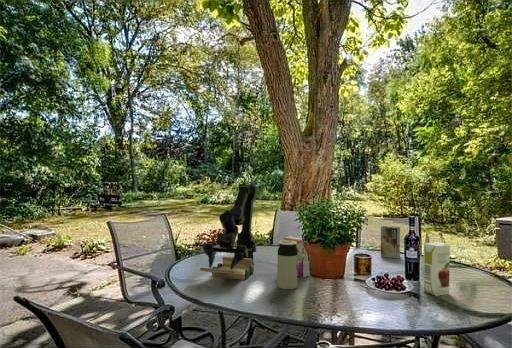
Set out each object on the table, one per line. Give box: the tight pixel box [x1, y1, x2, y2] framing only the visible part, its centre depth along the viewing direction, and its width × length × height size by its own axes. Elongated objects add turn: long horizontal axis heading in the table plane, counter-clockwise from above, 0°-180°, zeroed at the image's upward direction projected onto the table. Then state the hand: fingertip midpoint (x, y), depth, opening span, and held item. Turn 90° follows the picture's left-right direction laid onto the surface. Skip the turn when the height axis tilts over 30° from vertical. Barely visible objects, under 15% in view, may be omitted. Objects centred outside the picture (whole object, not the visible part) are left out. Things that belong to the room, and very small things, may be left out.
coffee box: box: [380, 225, 401, 259], centre depth 207 cm, size 9×6×16 cm
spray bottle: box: [283, 235, 310, 278], centre depth 169 cm, size 11×5×16 cm, turn 47°
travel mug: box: [276, 239, 298, 291], centre depth 152 cm, size 8×8×18 cm
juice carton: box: [422, 241, 451, 297], centre depth 146 cm, size 8×9×19 cm
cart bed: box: [211, 256, 255, 280], centre depth 169 cm, size 13×16×6 cm
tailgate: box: [199, 267, 244, 275], centre depth 157 cm, size 1×14×14 cm
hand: (220, 268), depth 154 cm, fingers open, 9 cm apart
